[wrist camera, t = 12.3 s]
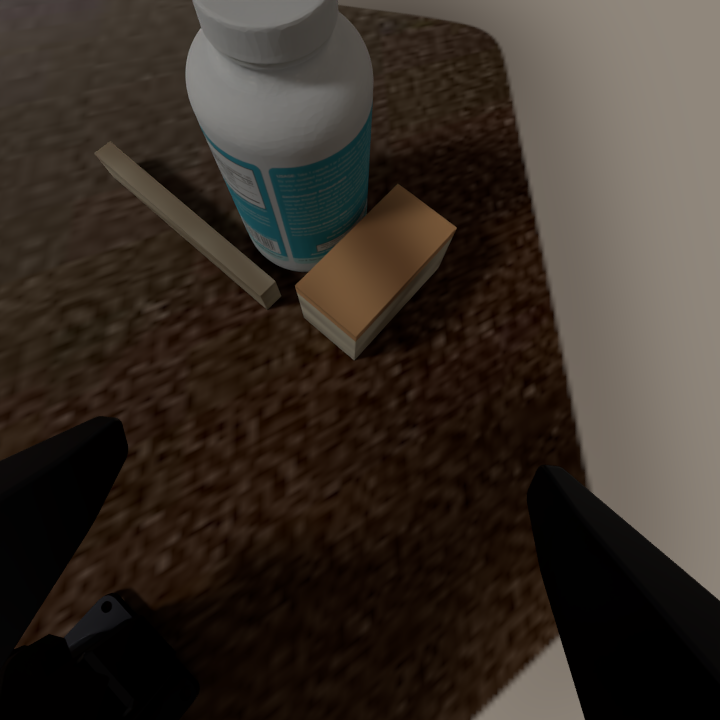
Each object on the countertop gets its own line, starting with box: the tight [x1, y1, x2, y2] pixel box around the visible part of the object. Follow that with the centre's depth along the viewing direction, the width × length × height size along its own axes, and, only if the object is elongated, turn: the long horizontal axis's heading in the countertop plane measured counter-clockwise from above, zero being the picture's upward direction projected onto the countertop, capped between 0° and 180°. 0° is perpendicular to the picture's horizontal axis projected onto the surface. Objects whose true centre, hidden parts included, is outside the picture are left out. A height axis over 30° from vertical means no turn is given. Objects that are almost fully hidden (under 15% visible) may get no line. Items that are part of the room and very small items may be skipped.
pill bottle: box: [186, 0, 373, 272], centre depth 19 cm, size 8×7×14 cm
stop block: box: [295, 184, 457, 360], centre depth 22 cm, size 8×4×4 cm, turn 139°
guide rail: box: [94, 142, 281, 310], centre depth 24 cm, size 1×14×2 cm, turn 49°
